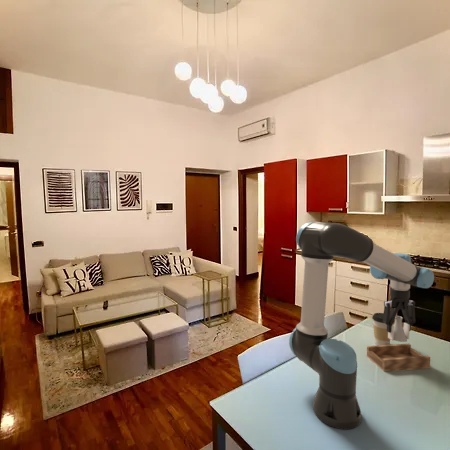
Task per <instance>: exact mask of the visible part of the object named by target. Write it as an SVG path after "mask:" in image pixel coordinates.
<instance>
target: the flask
mask: <svg viewBox="0 0 450 450" xmlns="http://www.w3.org/2000/svg"><path fill="white" fill-rule="evenodd" d="M403 319H404V316H403V317H402V316H400V315H396V316H395V319H394V323H393V326H394V340H393V341H396V342H400V343H401V342H402V343H403V342H408V339H407V338H406V335H405V332H404V325H403Z"/></svg>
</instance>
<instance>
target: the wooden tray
mask: <svg viewBox="0 0 450 450" xmlns="http://www.w3.org/2000/svg"><path fill="white" fill-rule="evenodd" d="M366 358H368V359H369V360H370V361H371V362H372V363H374V364H375V365H376V366H377V367H378V368H379V369H380V370H382V371H383V372H395V371H396V372H397V371H410V370H412V371H413V370H422V369H423V370H426V369H431V356H429V355H423V354H421V353H420V352H418V351H416V350H415V349H414V348H412V344H410V343H400V344H399V343H398V344H397V343H396V344H389V345H367V346H366Z"/></svg>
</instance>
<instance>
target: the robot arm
mask: <svg viewBox="0 0 450 450" xmlns="http://www.w3.org/2000/svg"><path fill="white" fill-rule="evenodd" d="M295 241H296V244H297V246H298V248H299V249H300V250H301V254H300V256H301V258H302V260H304V267H303V268H304V269H303V285H302V299H301V312H300V313H301V314H300V315H301V316H300V322H299V323H297V324H296V326H295V328H294V329H293V330H292V332H291V333H290V335H289V339H288V341H289V342H288V344H289V349H290V351H291V352H292V354H293V355H294V356H295V357H296V358H297V359H298V360H299V361H300V362H302V363H304V364H305V365H306V366H308V367H309V368H310V369H312V370H313V371H314V372H315V373H317V374H318V375H319V378H318V382H319V383H318V385H319V386H318V389H317V391H316V394H315V396H314V399H313V407H312V408H313V412H314V414H315V416H316V417H317V418H318V419H319V420H320V421H322V422H323V423H324V424H326V425H328V426H329V427H333V428H335V429H339V430H351V429H355V428H357V427H358V426H359V425H360V423H361V420H362V413H361V412H362V411H361V407H360V404H359V401H358V398H357V375H358V372H357V371H358V369H357V368H358V361H357V360H358V359H357V353H356V351H355V350H354V348H353V347H352V346H351V345H350V344H348V343H347V342H344V341H343V340H338V339H336V338H328V334H329V331H328V329H327V327H326V326H325V318H326V317H325V316H326V305H327V304H326V302H327V289H328V279H329V278H328V277H329V264H330V263H331V262H332V261H334V258H335V257H336V258H342V259H348V260H351V261H353V262H355V263H364V264H367V266H370V267H369V273H370V274H371V276H372V277H373V278H374V279H376V280H384V279H387V280H389V281H390V283H389V286H390V289H389V295H390V299H389V300H388V301H386V300H385V301H383V307H384V308H383V313H384V314H383V323H385V324H386V325H387V332H388V338H389V339H390V341H395V340H394V323H395V316H397V314H398V312H399V311H400V310H401V313H402V315H403V319H404V321H405V322H403V329H404V332H405V335H406V338H407V340H410V332H412V331H411V330H412V326H414V324H416V308H415V306H416V301H414V300H411V299H410V298H411V290H410V289H411V286H413V287H418V288H421V289H429V288H430V287H432V285H433V283H434V280H435V274H434V272H433V270H432V269H430V268H426V267H424V266H418V265H415V264H414V263H412V260H411V255H409V254H408V253H400V252H399V253H396V252H395V253H392V252H391V251H389V250H388V249H385V248H384V247H382V246H379V245H377V244H375V243H374V241H373V240H372V238H371V237H370V236H367V235H365V234H363V233H361V232H360V231H358V230H356V229H354V228H352V227H350V226H348V225H344V224H341V223H339V222H337V223H336V222H325V221H324V222H323V221H320V222H319V221H309V222H306V223H304V224H303V225H302V226H301V227H299V229H298V230H297V233H296V237H295ZM393 322H394V323H393ZM392 324H393V325H392Z"/></svg>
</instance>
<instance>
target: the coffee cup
mask: <svg viewBox="0 0 450 450" xmlns="http://www.w3.org/2000/svg"><path fill="white" fill-rule="evenodd" d="M383 314H384V312H375V313H373V315H372V316H371V319H372V320H373V323H372V325H373V336H374V343H375V346H377V345H391V344H390V343H391V340H390V339H389V338H388V332H387V325H386V324H385V323H383ZM394 323H395V321H394V322H393V324H392V325H393V326H394Z"/></svg>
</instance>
